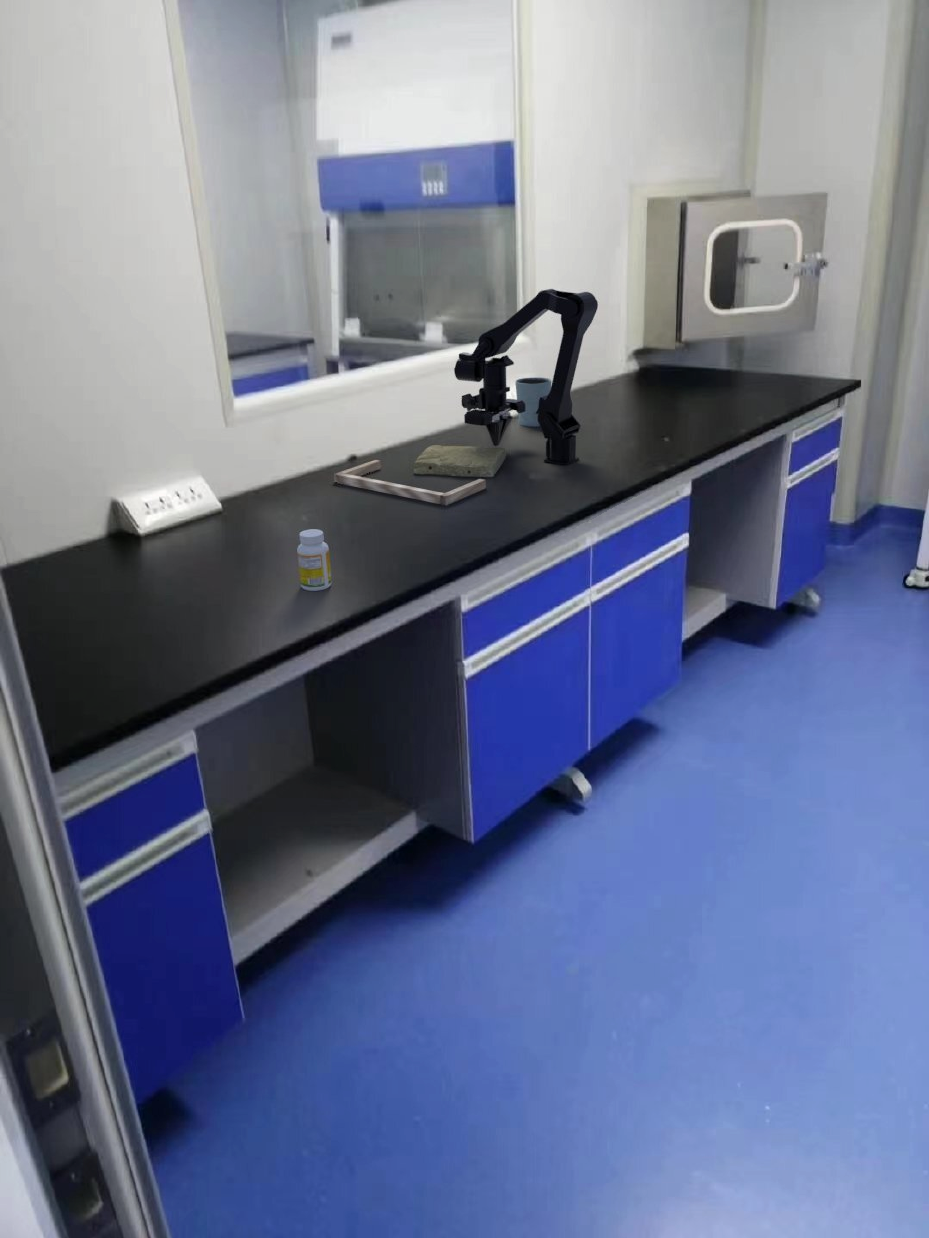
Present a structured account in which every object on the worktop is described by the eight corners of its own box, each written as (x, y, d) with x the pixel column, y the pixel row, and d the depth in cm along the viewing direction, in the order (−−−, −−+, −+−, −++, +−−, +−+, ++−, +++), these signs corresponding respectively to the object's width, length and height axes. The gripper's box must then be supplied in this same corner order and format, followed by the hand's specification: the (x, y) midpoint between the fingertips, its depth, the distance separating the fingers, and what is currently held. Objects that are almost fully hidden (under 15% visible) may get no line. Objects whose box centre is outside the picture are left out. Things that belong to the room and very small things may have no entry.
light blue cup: (533, 429, 259) (533, 385, 254) (508, 423, 266) (507, 380, 261) (558, 422, 265) (559, 379, 260) (533, 417, 272) (533, 375, 267)
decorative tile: (428, 456, 238) (428, 443, 237) (506, 458, 234) (506, 444, 233) (410, 477, 222) (409, 462, 220) (493, 479, 218) (493, 465, 216)
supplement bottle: (315, 594, 158) (309, 540, 154) (294, 587, 161) (288, 534, 157) (338, 584, 162) (333, 531, 158) (317, 577, 165) (312, 525, 161)
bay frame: (485, 488, 210) (485, 479, 209) (446, 505, 200) (445, 496, 199) (376, 467, 228) (375, 459, 228) (334, 482, 218) (333, 474, 217)
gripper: (490, 374, 242) (492, 434, 249) (445, 387, 229) (448, 449, 236) (526, 378, 236) (526, 439, 243) (482, 391, 223) (484, 455, 229)
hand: (496, 445), depth 238 cm, fingers closed
